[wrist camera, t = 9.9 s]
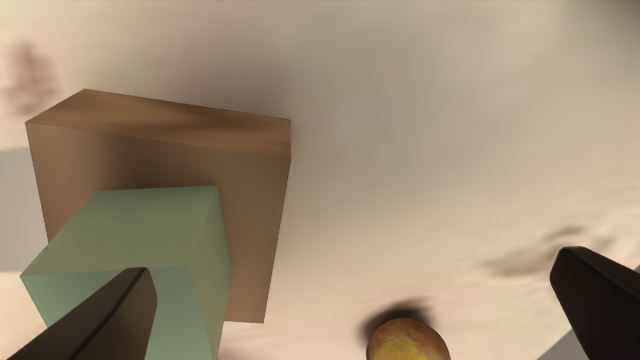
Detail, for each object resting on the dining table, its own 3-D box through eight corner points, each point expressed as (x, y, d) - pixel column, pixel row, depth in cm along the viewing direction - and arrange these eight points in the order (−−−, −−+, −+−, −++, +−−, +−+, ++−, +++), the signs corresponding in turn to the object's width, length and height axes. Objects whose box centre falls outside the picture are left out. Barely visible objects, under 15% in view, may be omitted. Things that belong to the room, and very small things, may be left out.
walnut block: (289, 117, 20) (291, 158, 15) (267, 261, 24) (263, 323, 20) (87, 86, 18) (25, 122, 14) (104, 246, 23) (61, 311, 18)
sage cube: (217, 185, 16) (190, 265, 11) (232, 273, 18) (214, 368, 14) (95, 191, 15) (19, 276, 11) (127, 280, 18) (75, 379, 13)
